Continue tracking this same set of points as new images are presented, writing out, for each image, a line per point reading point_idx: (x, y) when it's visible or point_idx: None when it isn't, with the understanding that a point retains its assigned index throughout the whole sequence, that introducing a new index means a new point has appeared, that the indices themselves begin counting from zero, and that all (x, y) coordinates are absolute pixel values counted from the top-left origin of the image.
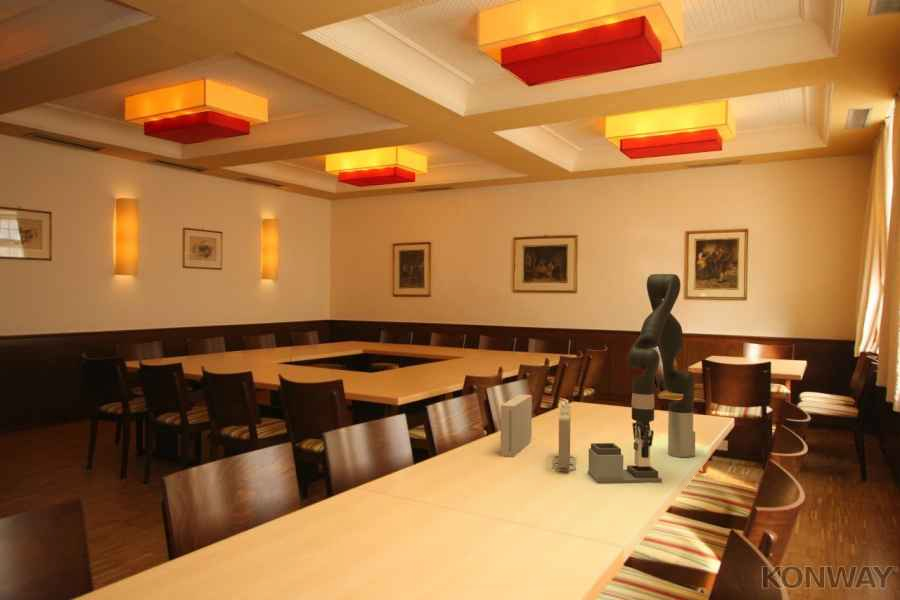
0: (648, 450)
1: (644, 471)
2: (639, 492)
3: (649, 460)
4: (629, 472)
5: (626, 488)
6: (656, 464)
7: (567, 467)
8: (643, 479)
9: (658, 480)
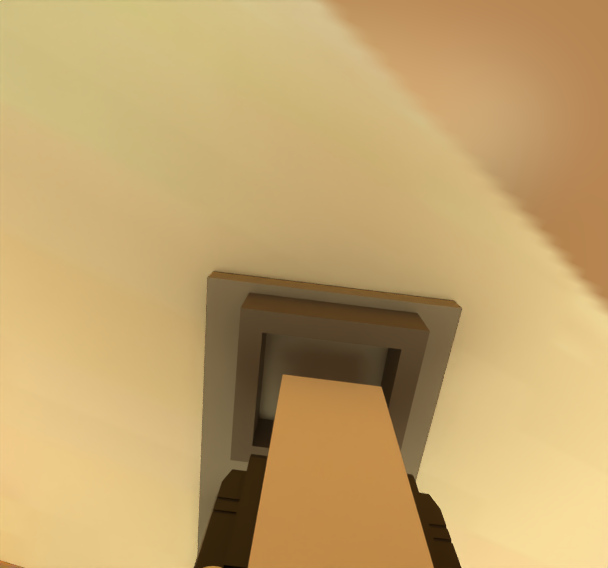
0: (433, 542)
1: (396, 421)
2: (570, 500)
3: (388, 425)
4: None
5: (488, 526)
6: (9, 99)
7: None
8: (426, 419)
9: (452, 328)
